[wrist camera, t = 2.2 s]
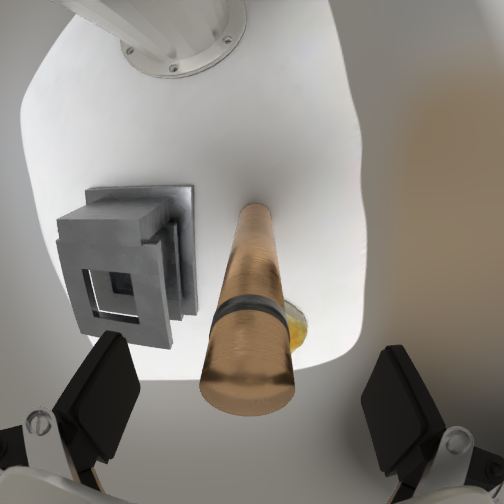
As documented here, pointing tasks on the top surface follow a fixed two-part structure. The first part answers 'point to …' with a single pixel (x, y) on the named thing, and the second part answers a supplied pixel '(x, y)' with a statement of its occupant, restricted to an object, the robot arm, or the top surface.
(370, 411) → the robot arm
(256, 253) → the brown rod
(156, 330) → the collar stand
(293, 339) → the bread roll
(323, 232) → the top surface
